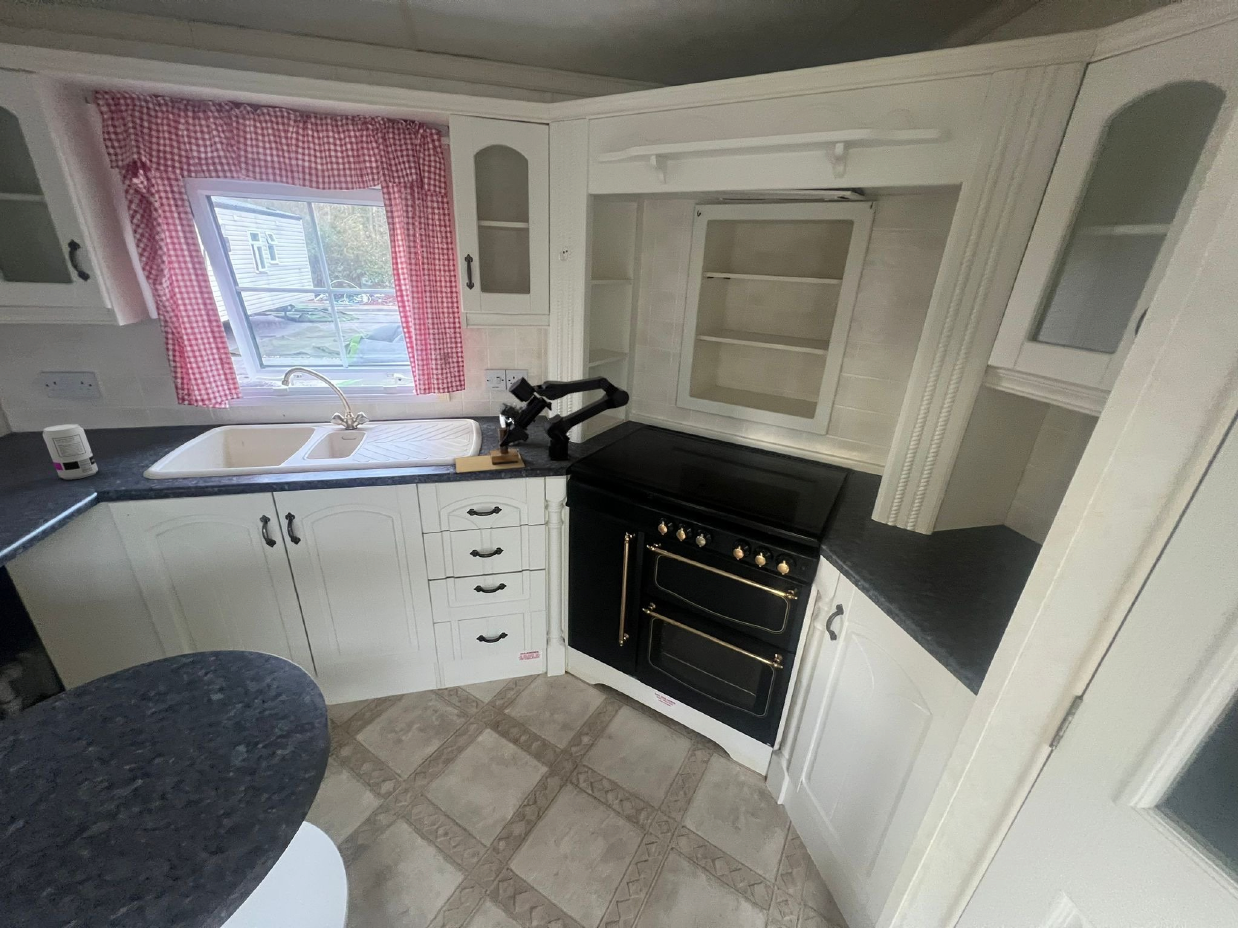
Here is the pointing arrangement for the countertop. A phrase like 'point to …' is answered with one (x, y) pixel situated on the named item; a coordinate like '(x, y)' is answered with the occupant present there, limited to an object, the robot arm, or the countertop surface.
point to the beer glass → (502, 420)
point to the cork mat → (482, 464)
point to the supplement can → (70, 451)
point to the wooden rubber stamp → (503, 451)
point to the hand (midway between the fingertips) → (499, 444)
